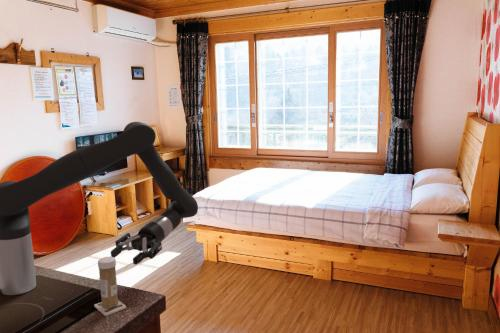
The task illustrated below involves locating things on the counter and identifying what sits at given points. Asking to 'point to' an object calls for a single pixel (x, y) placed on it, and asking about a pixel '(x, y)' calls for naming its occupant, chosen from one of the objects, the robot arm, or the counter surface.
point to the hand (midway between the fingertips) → (122, 258)
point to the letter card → (109, 310)
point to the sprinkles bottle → (108, 282)
